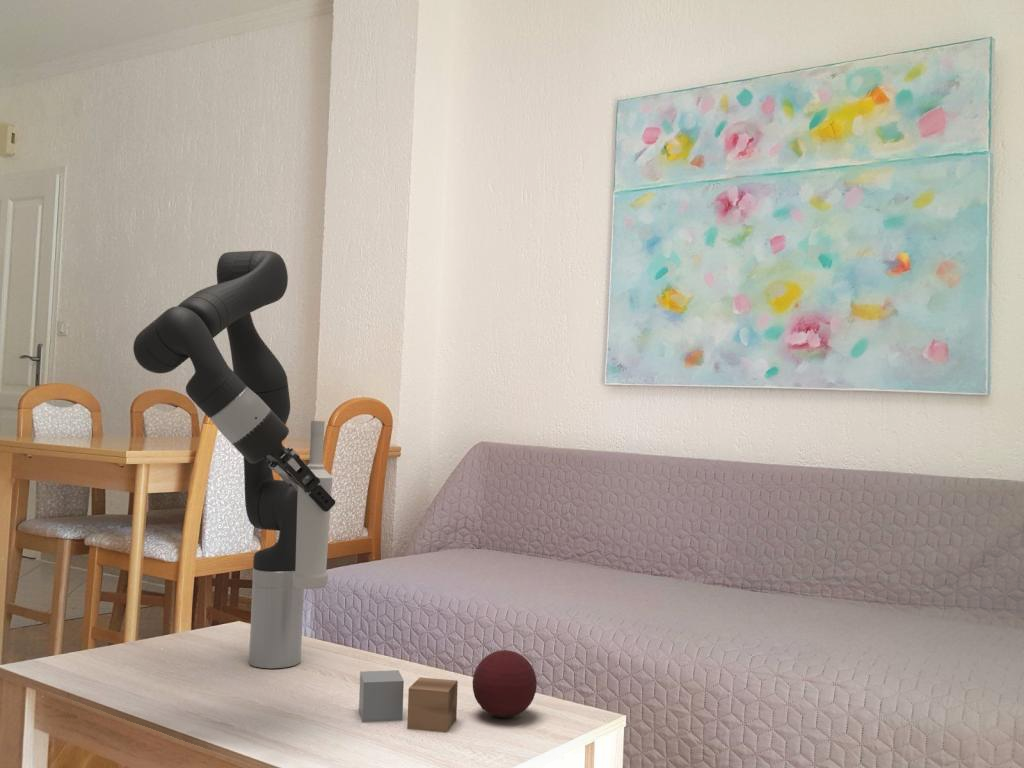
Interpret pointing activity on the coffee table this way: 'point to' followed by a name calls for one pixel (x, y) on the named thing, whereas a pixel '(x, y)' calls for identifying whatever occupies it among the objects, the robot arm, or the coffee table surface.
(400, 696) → the slate grey cube
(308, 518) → the bottle
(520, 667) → the decorative ball
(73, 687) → the coffee table surface
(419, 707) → the walnut cube
